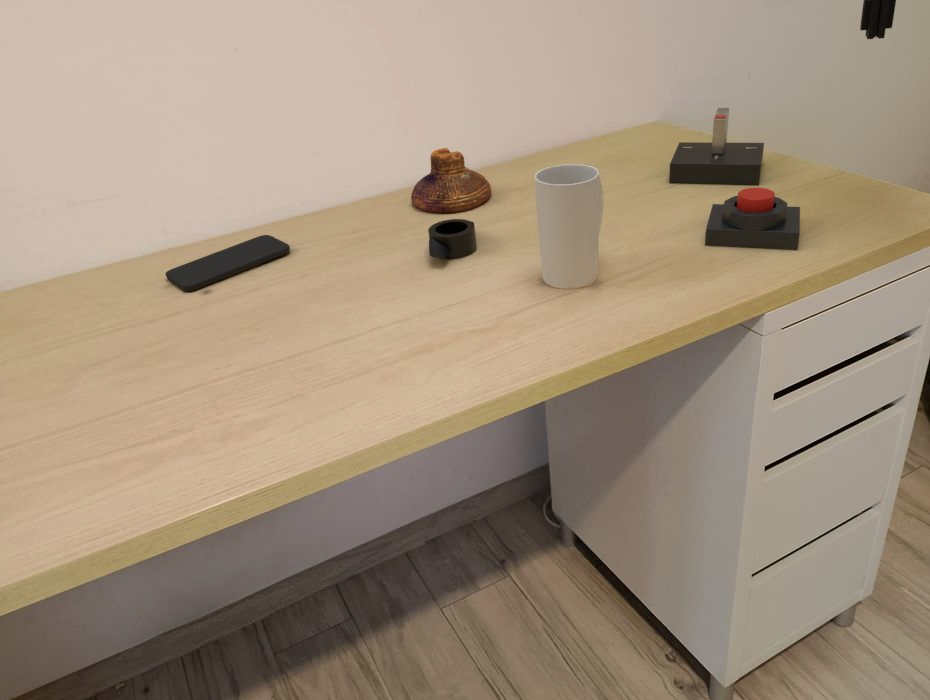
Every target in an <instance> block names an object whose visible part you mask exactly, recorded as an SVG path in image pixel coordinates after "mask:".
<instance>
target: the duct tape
mask: <svg viewBox="0 0 930 700" xmlns="http://www.w3.org/2000/svg"><path fill="white" fill-rule="evenodd" d="M427 231H428V252H429V257H432V258H435V259H439V260H455V259H456V260H457V259H461V258H464V257H467V256H470V255H472V254H474V253H475V252H476V250H477V247H478V246H477V238H476V237H477V236H476V226H475V222H474V221H471V220H469V219H464V218H463V219H462V218H451V219H450V218H449V219H444V220H441V221H438V222H435V223H434V224H432V225H430V226H429V227H428V229H427Z"/></svg>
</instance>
